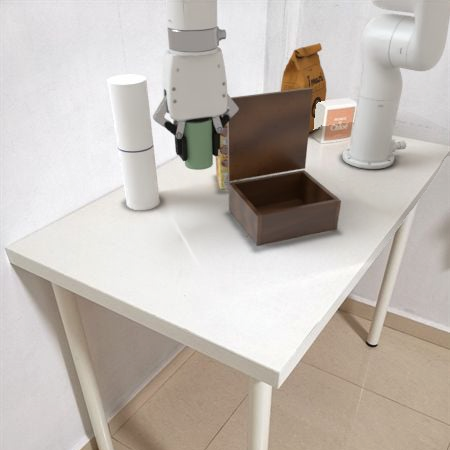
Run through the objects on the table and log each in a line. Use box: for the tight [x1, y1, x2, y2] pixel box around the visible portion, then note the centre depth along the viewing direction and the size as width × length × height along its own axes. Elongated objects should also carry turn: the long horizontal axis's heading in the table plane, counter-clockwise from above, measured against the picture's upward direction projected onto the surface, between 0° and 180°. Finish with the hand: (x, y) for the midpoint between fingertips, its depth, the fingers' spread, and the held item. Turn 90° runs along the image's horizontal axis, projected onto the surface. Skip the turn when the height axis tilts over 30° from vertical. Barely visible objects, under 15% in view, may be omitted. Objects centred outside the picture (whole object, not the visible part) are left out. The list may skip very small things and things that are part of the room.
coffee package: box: [280, 42, 328, 133], centre depth 129 cm, size 10×12×22 cm
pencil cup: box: [183, 117, 214, 171], centre depth 82 cm, size 5×5×8 cm
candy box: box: [215, 115, 239, 190], centre depth 104 cm, size 9×4×15 cm, turn 8°
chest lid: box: [227, 88, 313, 181], centre depth 92 cm, size 16×17×5 cm
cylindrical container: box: [106, 73, 161, 211], centre depth 95 cm, size 7×7×25 cm
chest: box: [228, 169, 342, 247], centre depth 93 cm, size 15×17×7 cm
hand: (198, 154), depth 83 cm, fingers closed on pencil cup, 5 cm apart
